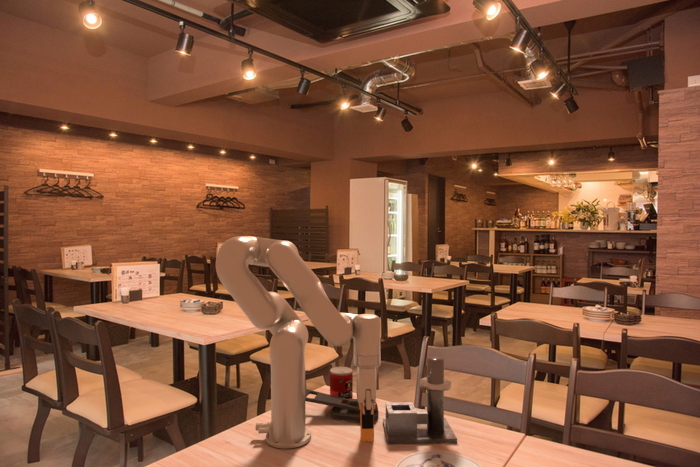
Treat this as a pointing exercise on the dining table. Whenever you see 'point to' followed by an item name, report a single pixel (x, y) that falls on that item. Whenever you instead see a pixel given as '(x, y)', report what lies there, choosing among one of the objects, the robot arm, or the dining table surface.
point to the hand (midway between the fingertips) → (367, 424)
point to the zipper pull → (339, 406)
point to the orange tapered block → (366, 433)
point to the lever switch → (422, 412)
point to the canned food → (341, 382)
